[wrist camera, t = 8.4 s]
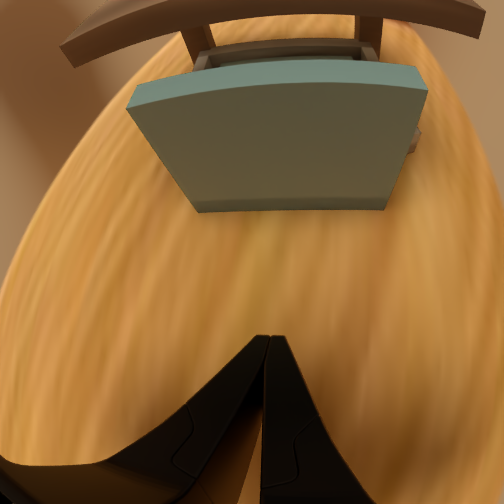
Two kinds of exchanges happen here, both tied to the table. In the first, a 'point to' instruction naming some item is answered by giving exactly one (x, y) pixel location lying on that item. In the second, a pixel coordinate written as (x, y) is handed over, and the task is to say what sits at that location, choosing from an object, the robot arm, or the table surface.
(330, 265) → the table surface
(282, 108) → the teal plastic shell
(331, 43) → the walnut overhang shelf
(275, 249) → the table surface
